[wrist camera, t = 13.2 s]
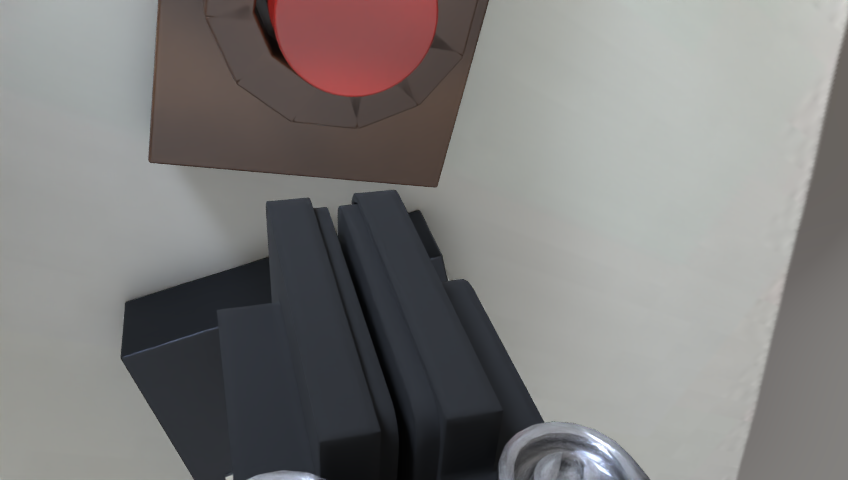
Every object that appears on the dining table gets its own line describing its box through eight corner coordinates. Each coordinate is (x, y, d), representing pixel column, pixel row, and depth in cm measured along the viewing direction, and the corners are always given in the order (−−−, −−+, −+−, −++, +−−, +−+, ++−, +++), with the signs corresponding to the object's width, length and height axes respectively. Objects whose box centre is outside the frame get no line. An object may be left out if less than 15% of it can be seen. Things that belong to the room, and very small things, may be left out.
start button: (278, -101, 18) (287, -85, 17) (437, -68, 20) (457, -51, 18) (256, 61, 20) (263, 87, 19) (402, 80, 22) (418, 106, 20)
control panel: (124, 301, 27) (119, 361, 25) (419, 209, 28) (443, 257, 26) (250, 524, 36) (256, 586, 33) (475, 446, 37) (497, 500, 34)
